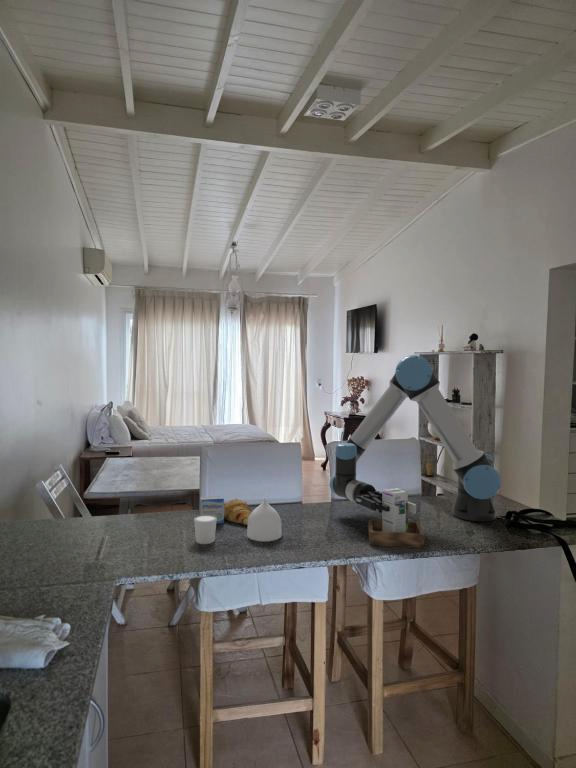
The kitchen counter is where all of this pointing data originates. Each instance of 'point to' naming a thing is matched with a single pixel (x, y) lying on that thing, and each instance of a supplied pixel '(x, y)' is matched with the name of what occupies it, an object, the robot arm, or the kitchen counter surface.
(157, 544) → the kitchen counter surface
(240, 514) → the croissant
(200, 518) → the shot glass
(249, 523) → the teardrop
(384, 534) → the serving tray
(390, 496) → the syrup box
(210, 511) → the medicine box
